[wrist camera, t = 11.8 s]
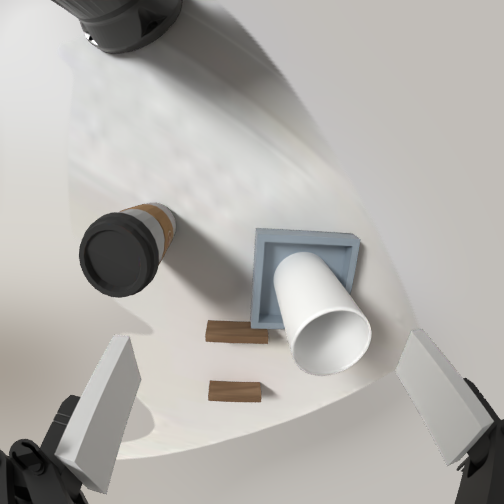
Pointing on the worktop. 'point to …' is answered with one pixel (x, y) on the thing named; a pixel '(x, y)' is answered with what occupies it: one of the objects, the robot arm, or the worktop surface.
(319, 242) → the tray
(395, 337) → the worktop surface
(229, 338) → the clip rails
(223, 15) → the worktop surface
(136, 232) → the coffee cup
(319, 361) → the cup
